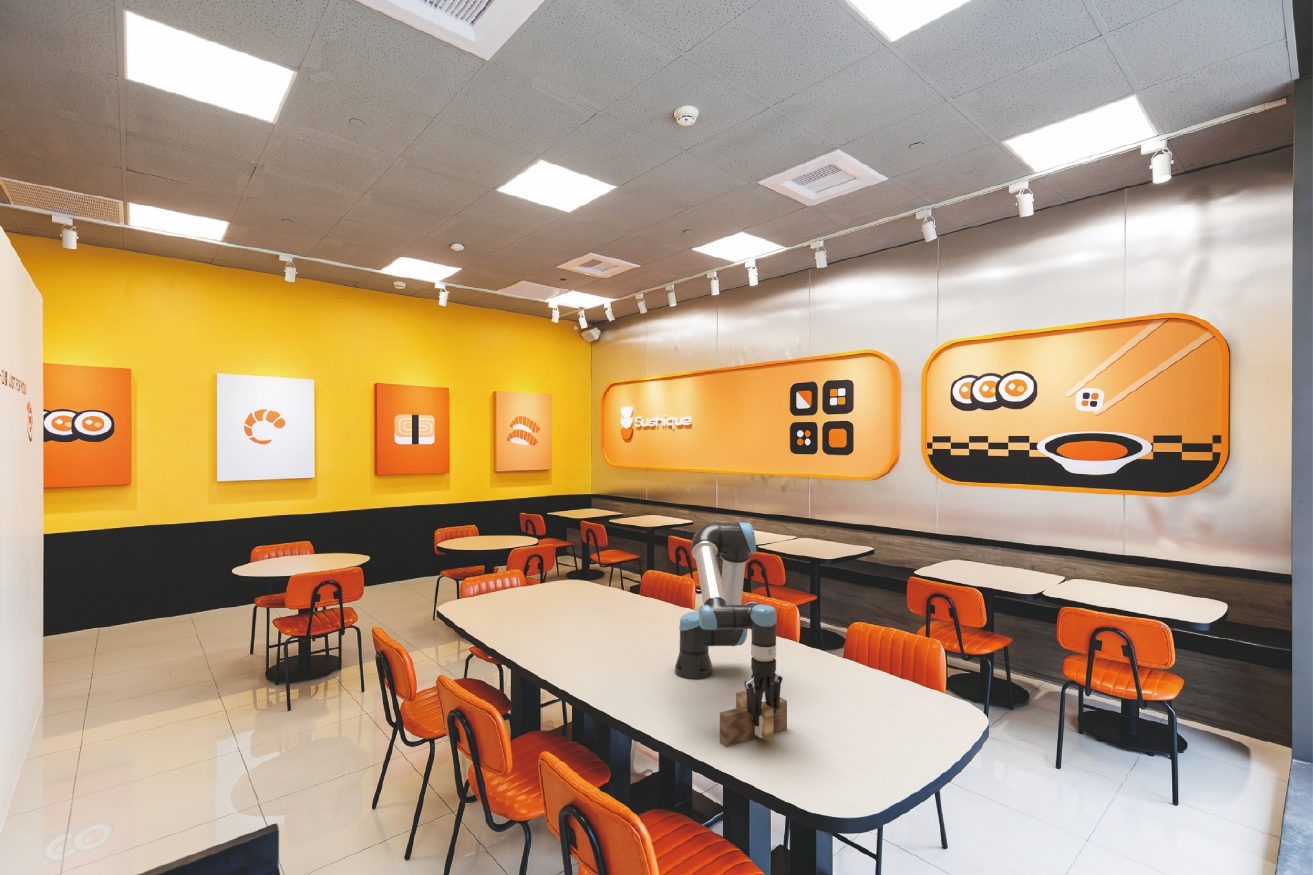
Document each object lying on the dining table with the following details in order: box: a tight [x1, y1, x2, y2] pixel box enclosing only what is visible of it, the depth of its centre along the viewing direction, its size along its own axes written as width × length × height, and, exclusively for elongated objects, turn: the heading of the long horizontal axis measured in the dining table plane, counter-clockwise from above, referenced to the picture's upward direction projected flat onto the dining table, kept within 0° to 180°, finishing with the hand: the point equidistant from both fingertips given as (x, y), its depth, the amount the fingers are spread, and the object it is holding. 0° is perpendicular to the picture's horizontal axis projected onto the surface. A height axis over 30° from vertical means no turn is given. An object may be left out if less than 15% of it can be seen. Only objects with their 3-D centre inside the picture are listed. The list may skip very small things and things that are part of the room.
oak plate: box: [735, 690, 774, 741], centre depth 189 cm, size 15×3×9 cm, turn 29°
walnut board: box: [719, 697, 788, 747], centre depth 189 cm, size 24×3×9 cm, turn 119°
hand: (763, 734), depth 185 cm, fingers closed on oak plate, 3 cm apart
